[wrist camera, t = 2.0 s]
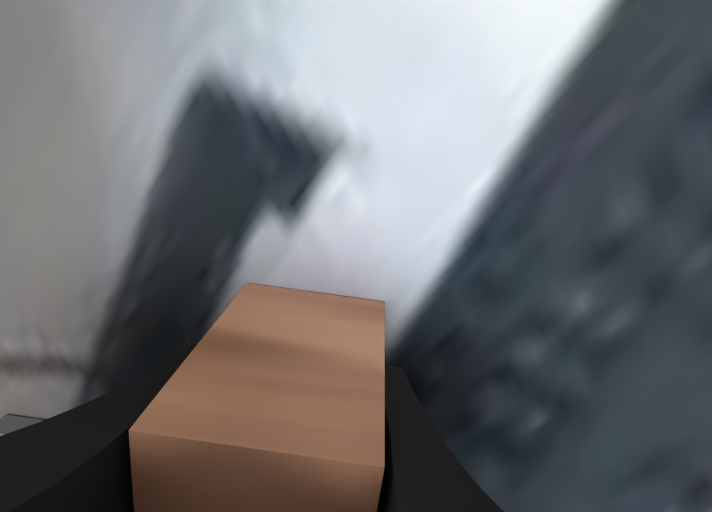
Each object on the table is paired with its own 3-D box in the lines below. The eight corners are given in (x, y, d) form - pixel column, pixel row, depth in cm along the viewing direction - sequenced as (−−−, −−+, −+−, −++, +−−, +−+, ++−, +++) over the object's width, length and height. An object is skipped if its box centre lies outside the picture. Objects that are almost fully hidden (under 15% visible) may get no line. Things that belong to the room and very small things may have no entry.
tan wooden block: (366, 415, 14) (353, 636, 8) (242, 398, 14) (140, 603, 8) (384, 301, 12) (384, 467, 7) (246, 283, 12) (129, 430, 7)
